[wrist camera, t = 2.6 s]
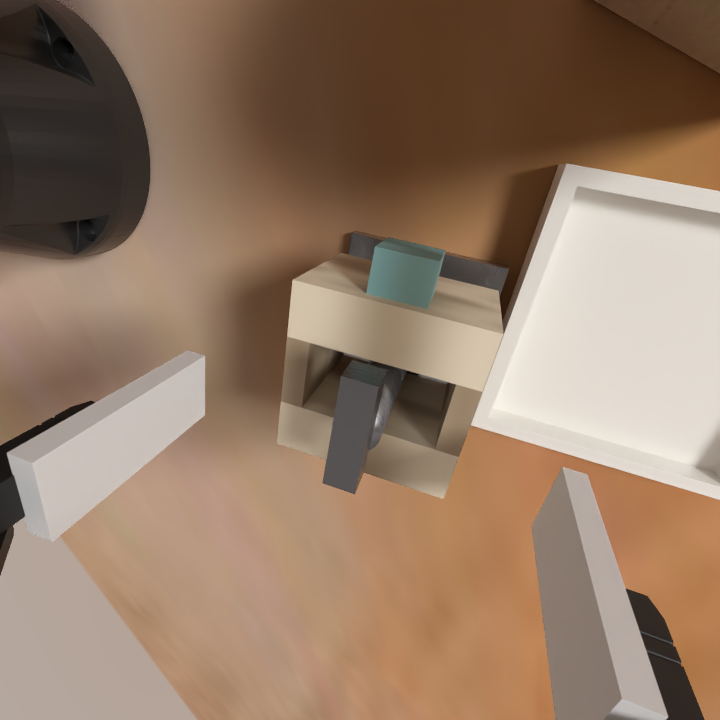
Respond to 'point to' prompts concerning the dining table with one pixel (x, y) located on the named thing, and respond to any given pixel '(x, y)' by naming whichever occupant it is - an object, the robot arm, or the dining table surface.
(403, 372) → the grey lever faucet
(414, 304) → the collar
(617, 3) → the wooden block
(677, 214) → the tray
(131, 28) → the dining table surface
